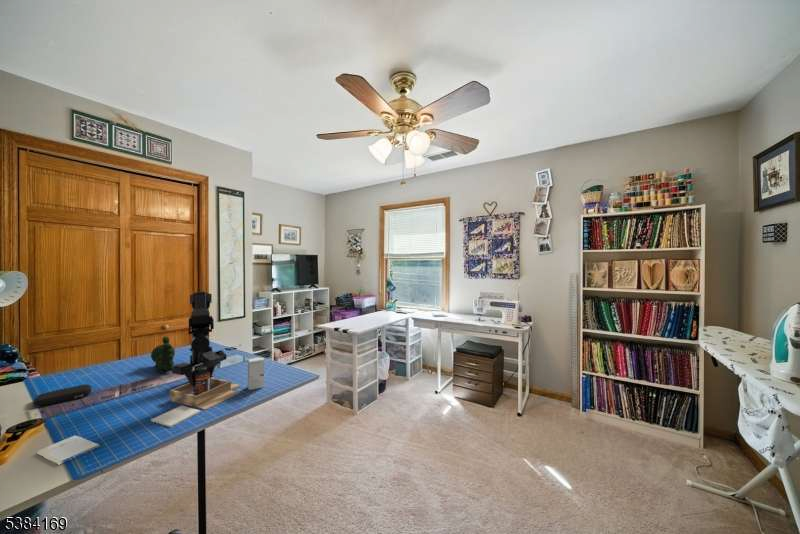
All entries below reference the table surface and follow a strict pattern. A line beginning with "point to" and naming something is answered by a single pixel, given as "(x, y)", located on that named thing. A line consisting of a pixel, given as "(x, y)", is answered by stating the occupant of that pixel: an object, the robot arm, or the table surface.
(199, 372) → the supplement bottle
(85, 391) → the carrying case or bag
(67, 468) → the table surface
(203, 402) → the carton
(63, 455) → the external hard drive
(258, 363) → the skincare box
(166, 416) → the grey mat
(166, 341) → the dark green lumpy piece
